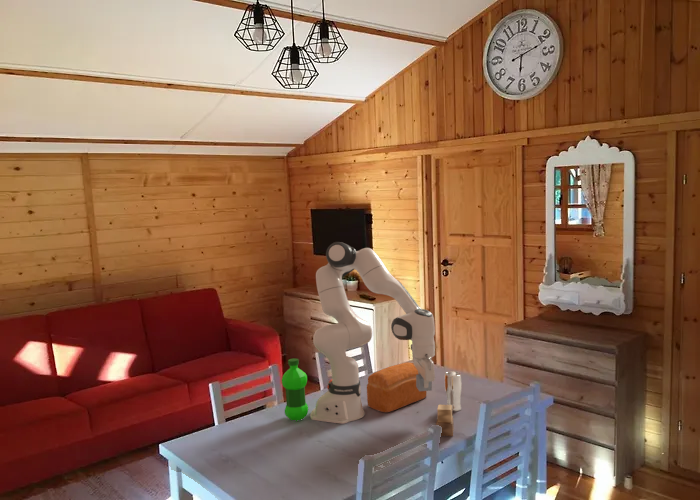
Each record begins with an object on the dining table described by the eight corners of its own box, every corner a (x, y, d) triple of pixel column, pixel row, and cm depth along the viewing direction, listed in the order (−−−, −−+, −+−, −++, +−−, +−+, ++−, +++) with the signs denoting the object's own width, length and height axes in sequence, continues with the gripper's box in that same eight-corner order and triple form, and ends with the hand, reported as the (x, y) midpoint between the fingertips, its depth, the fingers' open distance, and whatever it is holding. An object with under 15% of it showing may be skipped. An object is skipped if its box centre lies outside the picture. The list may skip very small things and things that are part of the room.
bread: (429, 397, 261) (428, 362, 259) (386, 414, 244) (385, 377, 242) (407, 390, 271) (406, 356, 270) (364, 406, 255) (362, 370, 253)
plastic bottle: (304, 424, 238) (300, 364, 235) (280, 422, 242) (276, 363, 239) (313, 415, 248) (309, 356, 245) (290, 413, 251) (286, 355, 248)
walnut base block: (436, 436, 222) (436, 423, 221) (437, 429, 227) (437, 416, 227) (452, 436, 220) (452, 423, 220) (453, 430, 226) (453, 417, 226)
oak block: (437, 422, 222) (437, 409, 221) (439, 417, 227) (438, 404, 226) (451, 422, 221) (450, 410, 220) (452, 417, 225) (451, 404, 225)
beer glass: (443, 410, 245) (441, 375, 244) (448, 404, 251) (447, 370, 250) (459, 412, 242) (458, 377, 240) (464, 406, 248) (463, 371, 247)
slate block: (416, 386, 237) (416, 374, 237) (428, 385, 238) (428, 373, 237) (419, 391, 232) (419, 379, 232) (431, 390, 233) (431, 378, 232)
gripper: (438, 358, 223) (438, 393, 225) (424, 342, 243) (424, 374, 245) (422, 360, 222) (422, 395, 224) (409, 343, 242) (409, 375, 244)
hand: (423, 384), depth 235 cm, fingers closed on slate block, 5 cm apart
